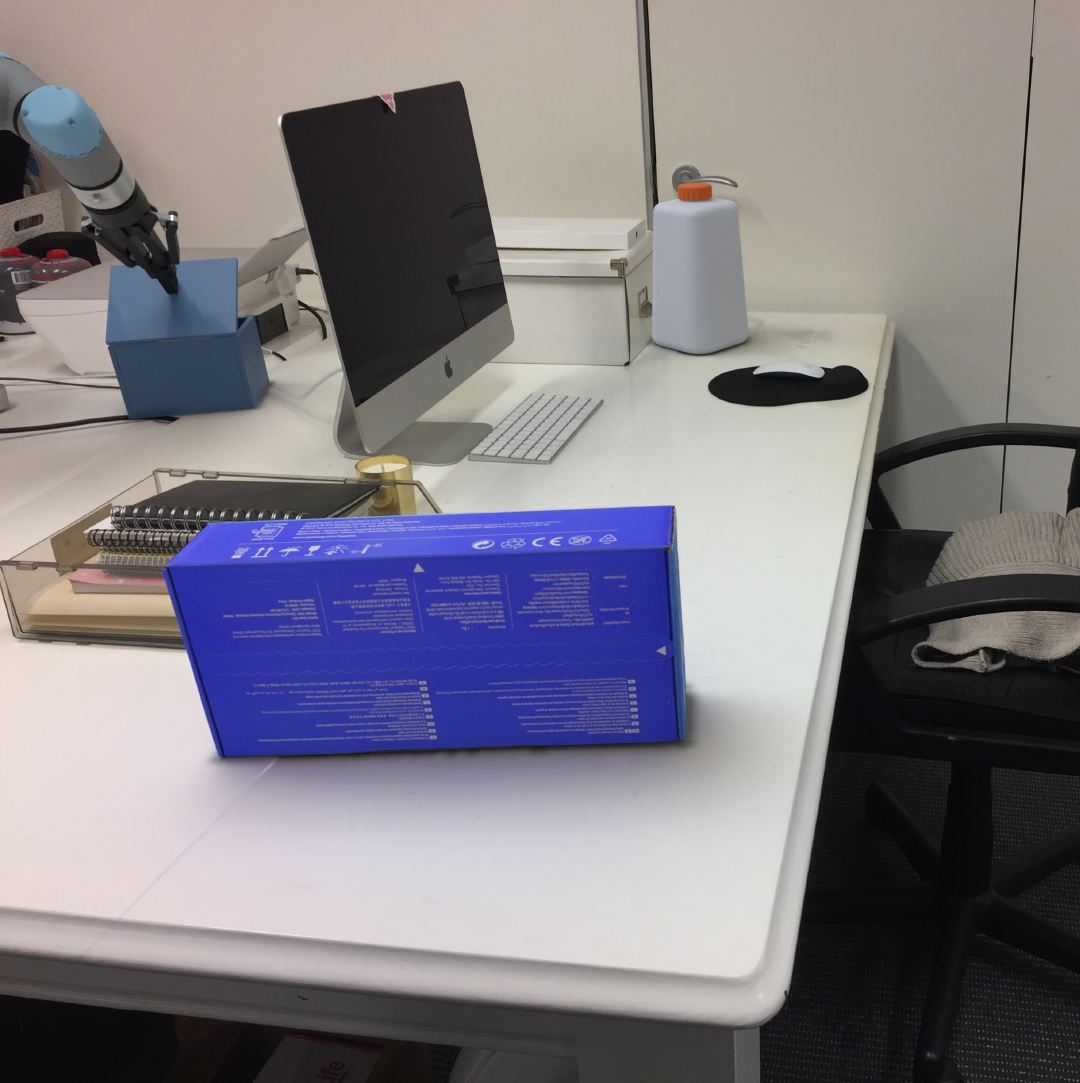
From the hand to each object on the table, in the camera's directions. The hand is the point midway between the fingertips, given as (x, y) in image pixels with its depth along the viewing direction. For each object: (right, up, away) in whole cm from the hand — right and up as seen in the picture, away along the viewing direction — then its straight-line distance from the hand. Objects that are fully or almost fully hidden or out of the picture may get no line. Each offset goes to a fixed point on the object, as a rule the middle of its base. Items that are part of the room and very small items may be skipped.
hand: (172, 286), depth 161 cm
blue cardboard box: (+63, -56, -72) cm, 110 cm away
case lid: (0, -2, 0) cm, 2 cm away
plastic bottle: (+81, -3, +32) cm, 87 cm away
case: (0, -17, +9) cm, 19 cm away
